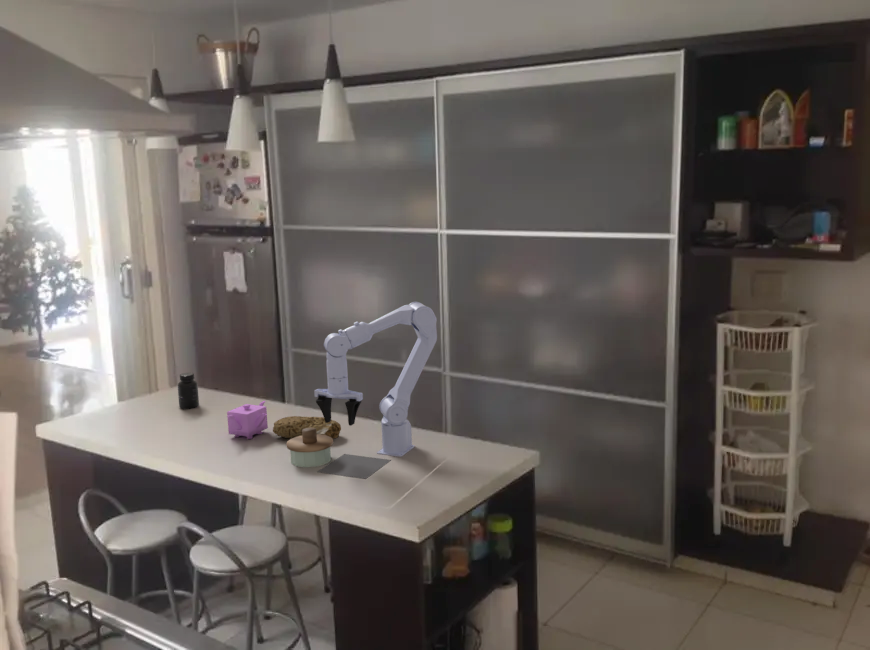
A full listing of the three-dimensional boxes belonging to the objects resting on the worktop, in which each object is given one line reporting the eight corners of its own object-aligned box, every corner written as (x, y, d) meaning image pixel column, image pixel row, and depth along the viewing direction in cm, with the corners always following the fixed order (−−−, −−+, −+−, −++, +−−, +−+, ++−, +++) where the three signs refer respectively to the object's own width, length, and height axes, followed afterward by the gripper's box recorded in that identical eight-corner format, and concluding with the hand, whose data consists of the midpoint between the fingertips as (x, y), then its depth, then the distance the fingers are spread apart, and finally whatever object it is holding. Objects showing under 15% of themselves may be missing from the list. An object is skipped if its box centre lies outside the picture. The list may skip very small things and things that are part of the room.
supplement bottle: (175, 409, 283) (172, 376, 281) (184, 404, 290) (182, 371, 288) (194, 409, 282) (191, 376, 280) (202, 404, 289) (200, 371, 287)
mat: (344, 455, 233) (344, 453, 232) (391, 461, 227) (391, 459, 226) (316, 473, 219) (316, 471, 219) (365, 480, 213) (365, 478, 213)
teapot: (248, 446, 242) (246, 415, 241) (214, 441, 248) (212, 410, 246) (285, 429, 258) (283, 399, 256) (252, 424, 264) (250, 395, 262)
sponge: (344, 439, 251) (296, 418, 260) (344, 418, 247) (295, 397, 257) (316, 459, 241) (267, 436, 250) (315, 437, 237) (266, 415, 247)
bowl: (305, 452, 235) (304, 436, 235) (337, 457, 231) (337, 440, 230) (283, 465, 226) (282, 448, 225) (317, 470, 221) (316, 452, 220)
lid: (303, 435, 236) (302, 420, 235) (341, 439, 231) (341, 425, 230) (277, 449, 224) (276, 434, 223) (317, 454, 219) (316, 439, 218)
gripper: (307, 377, 225) (310, 424, 227) (353, 381, 219) (355, 429, 222) (320, 372, 231) (323, 417, 234) (365, 375, 225) (367, 422, 228)
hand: (339, 423), depth 228 cm, fingers open, 7 cm apart
